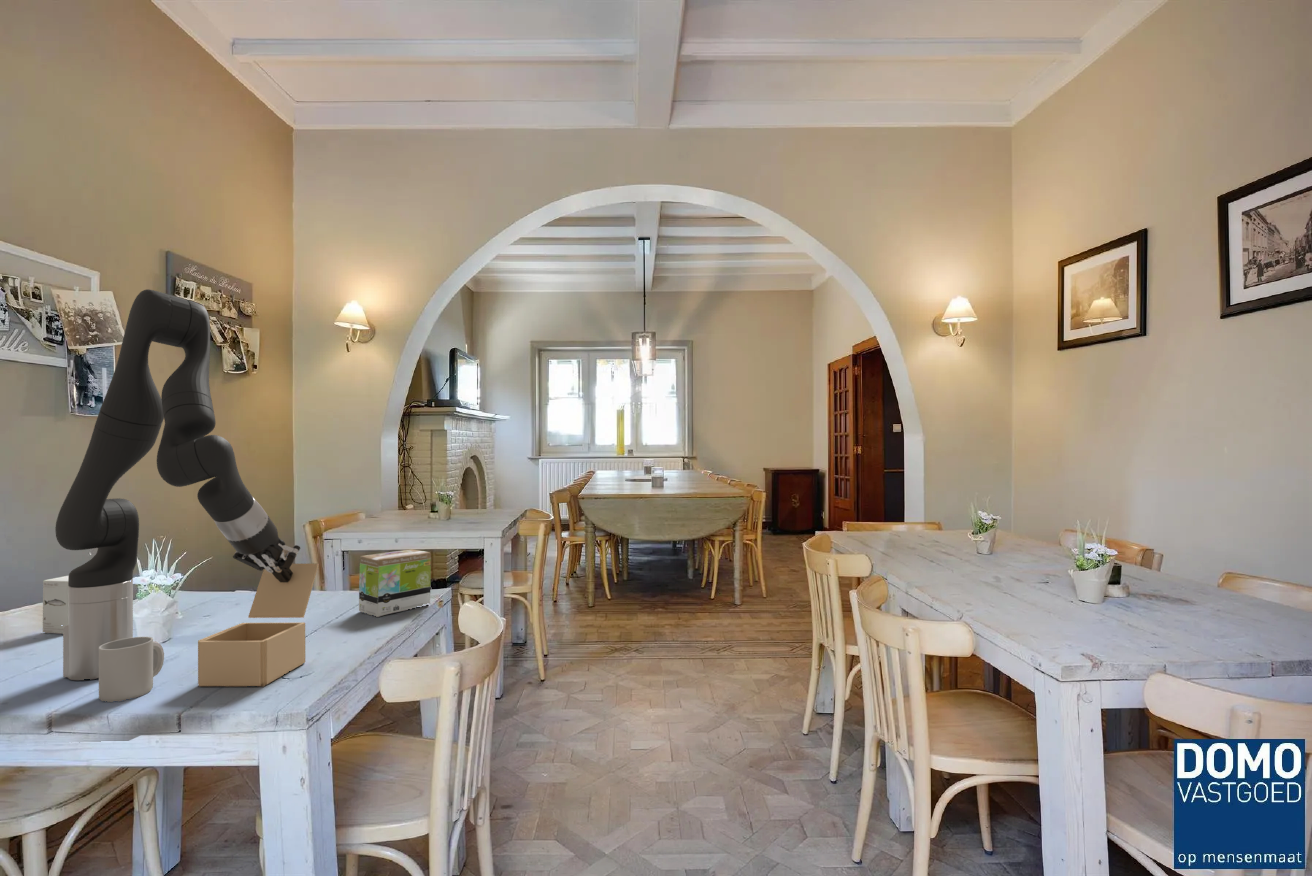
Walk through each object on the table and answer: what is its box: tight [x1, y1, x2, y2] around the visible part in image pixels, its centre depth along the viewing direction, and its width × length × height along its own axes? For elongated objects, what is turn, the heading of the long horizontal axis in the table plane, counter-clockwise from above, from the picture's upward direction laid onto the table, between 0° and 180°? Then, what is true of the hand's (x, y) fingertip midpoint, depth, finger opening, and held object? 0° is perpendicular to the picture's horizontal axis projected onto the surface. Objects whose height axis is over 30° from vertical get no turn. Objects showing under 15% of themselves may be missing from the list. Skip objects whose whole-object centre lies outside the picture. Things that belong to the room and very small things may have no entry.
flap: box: [247, 562, 320, 619], centre depth 124 cm, size 11×1×11 cm, turn 88°
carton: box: [197, 621, 306, 688], centre depth 115 cm, size 13×12×8 cm
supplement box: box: [42, 575, 69, 634], centre depth 147 cm, size 7×7×13 cm
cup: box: [98, 636, 165, 703], centre depth 108 cm, size 7×10×9 cm
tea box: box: [358, 548, 432, 618], centre depth 162 cm, size 15×10×15 cm
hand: (286, 578), depth 125 cm, fingers closed
